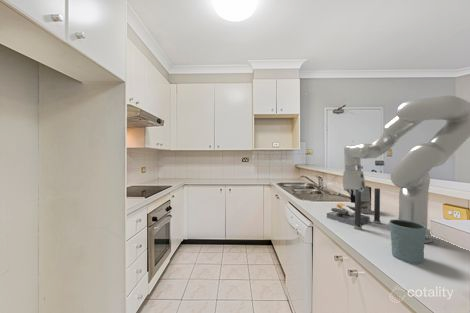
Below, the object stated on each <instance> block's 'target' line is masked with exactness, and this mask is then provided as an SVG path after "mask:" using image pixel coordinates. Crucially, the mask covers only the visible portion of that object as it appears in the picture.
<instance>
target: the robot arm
mask: <svg viewBox="0 0 470 313" xmlns="http://www.w3.org/2000/svg"><path fill="white" fill-rule="evenodd" d="M436 120H443V121H446V123H445V124H444V125H443V126H442V127H441V128H440V129H439V130H438V131H437V132H436V133H435V134H434V136H433V137H432V138H431V139H430V140H429V141H427V142H425V143H424V142H423V143H420V144H417V145H415V146H413V147H412V148H411V149H410V150H408V152H407V153H406V154H405V155H403V157H402V158H401V160H399V161H398V163H397V164H396V165H395V166H394V168H393V169H392V170H391V172H390V180H391V182H392V183H393V185H394V186H396V187H398V188H399V193H398V195H399V196H398V220H407V221H413V222H417V223H420V224H423V225H424V226H426V233H425V242H424V244H430V243H432V242H433V241H437V242H441V239H442V238H441V239H439V238H436V237H433V236H431V234H430V232H431V229H429V228H428V214H429V213H428V212H429V210H428V207H429V206H428V204H429V190H430V183H431V176H430V175H431V174H430V171H432V169H433V168H436V167H440V166H443V165H444V164H445V163H447V161H448V160H449V158H451V156H452V155H453V154H454V153H455V152H457V150H459V148H460V147H461V146H462V145H463V144H464V143H465V142H467V140H468V139H469V138H470V101H468V100H466V99H464V98H462V97H459V96H456V95H441V96H432V97H427V98H419V99H417V98H416V99H410V100H405V101H404V102H402V103H401V104H400V105H398V107H397V108H396V116H394V117H393V118H392V119H391V120H390V121H388V122H387V123H385V124H384V125H383V133H382V134H381V136H380V137H379V138H377V139H376V140H375V141H373V143H361V144H357V145H355V144H353V145H352V144H351V145H346V146H344V148H343V153H344V154H343V156H344V171H343V173H342V174H343V176H342V187H343V191H345V192H347V193H348V194H349V196H350V203H353V204H355V191H360V192H361V193H362V192H364V189H365V186H366V180H365V174H364V171H363V170H362V169H364V166H362V165H361V160H362V159H363V160H367V159H377V158H379V157H381V156H382V155H383V154H386V152H388V151H389V150H390V149H391V148H392V147H394V146H395V144H396V143H397V142H398V141H399V140H400V138H403V136H405V135H406V134H407V133H409V132H410V131H412V130H413V129H415V128H416V127H418V126H419V125H420V124H421V123H422V122H424V121H436Z"/></svg>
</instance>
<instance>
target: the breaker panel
mask: <svg viewBox="0 0 470 313" xmlns="http://www.w3.org/2000/svg"><path fill="white" fill-rule="evenodd" d="M346 206H347V207H348V208H350V209H352V210H353V211H355V206H350V205H346ZM326 218H328V219H330V220H333V221H337V222H339V223H344V224H346V225H350V226H353V227H354V225H355V215H349V214H348V211H345V210H341V209H340V208H338V207H333V208H332V207H331V212H326ZM370 221H371V217H370V216H368V215H363V214H361V225H363V224H366V223H369V222H370Z"/></svg>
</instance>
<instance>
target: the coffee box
mask: <svg viewBox="0 0 470 313" xmlns="http://www.w3.org/2000/svg"><path fill="white" fill-rule="evenodd" d="M361 214H368V215H369V214H370V215H371V214H372V187H371V186H368V185H365V189H364V192H362V193H361Z"/></svg>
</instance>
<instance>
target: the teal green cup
mask: <svg viewBox="0 0 470 313" xmlns="http://www.w3.org/2000/svg"><path fill="white" fill-rule="evenodd" d="M388 224H389V231H390V240H391V254H392V257H394V258H395V259H397V260H399V261H401V260H402V262H404V261H405V263H408V262H409V263H408V264H413V263H415V264H416V265H418V264H417V263H421V264H423V263H424V259H425V258H424V257H425V253H424V252H425V251H424V250H425V243H424V242H425V233H426V226H424V225H423V224H420V223H417V222H413V221H407V220H399V219H391V220H389V222H388ZM415 264H414V265H415Z"/></svg>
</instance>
